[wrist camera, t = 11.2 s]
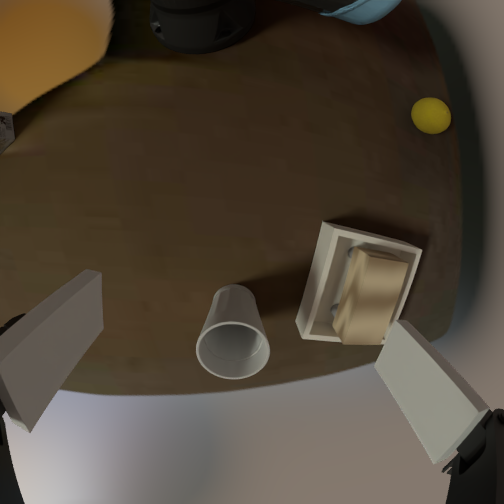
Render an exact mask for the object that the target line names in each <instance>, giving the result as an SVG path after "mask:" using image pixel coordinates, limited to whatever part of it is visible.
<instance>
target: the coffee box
mask: <svg viewBox="0 0 504 504" xmlns="http://www.w3.org/2000/svg"><path fill="white" fill-rule="evenodd" d="M14 140H15V136H14V128H13V120H12V114H11V113H6V112H0V154H1V153H2V152H3V151H4V150H5V149H6V148H7V147H8V146H9V145H10V144H11V143H12V142H13V141H14Z"/></svg>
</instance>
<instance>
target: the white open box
mask: <svg viewBox="0 0 504 504" xmlns="http://www.w3.org/2000/svg"><path fill="white" fill-rule="evenodd" d="M354 246H356V247H362V248H368V249H373V250H379V251H384V252H390V253H392V254H394V255H395V256H397V257H399V258H401V259H402V260H404V261H406V262H407V263H409V265H408V268H407V271H406V275H405V278H404V281H403V284H402V288H401V291H400V294H399V297H398V300H397V303H396V305H395V308H394V311H393V314H392V316H391V319H390V322H389V324H388V327H387V329H386V332H385V334H384V337H383V339H382V342H381V344H385V342H386V340H387V338H388V336H389V333H390V331H391V329H392V326H393V324H394V322H395V320H398V318H399V316H400V313H401V311H402V308H403V306H404V303H405V300H406V298H407V295H408V292H409V289H410V287H411V284H412V281H413V278H414V275H415V272H416V269H417V266H418V263H419V259H420V256H421V253H422V249H419V248H417V247H415V246H413V245H411V244H409V243H407V242H404V241H401V240H397V239H393V238H389V237H385V236H382V235H378V234H374V233H370V232H366V231H362V230H357V229H353V228H349V227H345V226H341V225H336V224H332V223H328V222H322V226H321V230H320V234H319V238H318V242H317V246H316V250H315V254H314V258H313V261H312V265H311V269H310V273H309V276H308V280H307V283H306V287H305V291H304V294H303V298H302V301H301V304H300V308H299V311H298V315H297V318H296V324H297V326H298V329H299V332H300V334H301V337H302V339H311V340H322V341H335V342H341V340H340V338H339V336H338V335H337V333H336V331H335V330H334V328H333V326H332V325H333V321H334V318H335V315H336V312H337V309H338V305H339V302H340V299H341V295H342V292H343V288H344V285H345V281H346V277H347V274H348V270H349V266H350V262H351V258H352V254H353V250H354Z"/></svg>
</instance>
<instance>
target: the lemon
mask: <svg viewBox="0 0 504 504" xmlns="http://www.w3.org/2000/svg"><path fill="white" fill-rule="evenodd" d="M411 115H412V120H413V122H414V124H415V125H416V127H417V128H418V129H419V130H421V131H423V132H425V133H428V134H437V133H440V132H442V131H444V130H446V129H447V128H448V126H449V125H450V122H451V114H450V111H449V109H448V107H447V106H446V104H445V103H444V102H442V101H441V100H439V99H436V98H423V99H420V100H419V101H417V102H416V103H415V104H414V106H413V108H412V112H411Z"/></svg>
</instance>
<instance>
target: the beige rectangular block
mask: <svg viewBox="0 0 504 504" xmlns="http://www.w3.org/2000/svg"><path fill="white" fill-rule="evenodd" d="M408 265H409V263H407V262H406V261H404V260H402V259H401V258H399V257H397V256H395V255H394V254H392V253H390V252H384V251H379V250H373V249H368V248H362V247H356V246H354V250H353V254H352V258H351V262H350V266H349V270H348V274H347V277H346V281H345V285H344V288H343V292H342V295H341V299H340V302H339V305H338V309H337V312H336V315H335V318H334V321H333V325H332V326H333V328H334V330H335V331H336V333H337V335H338V336H339V338H340V340H341V342H342V343H343V344H349V345H380V344H381V342H382V339H383V337H384V334H385V332H386V329H387V327H388V324H389V322H390V319H391V316H392V314H393V311H394V308H395V305H396V303H397V300H398V297H399V294H400V291H401V288H402V284H403V281H404V278H405V275H406V271H407V268H408Z"/></svg>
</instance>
